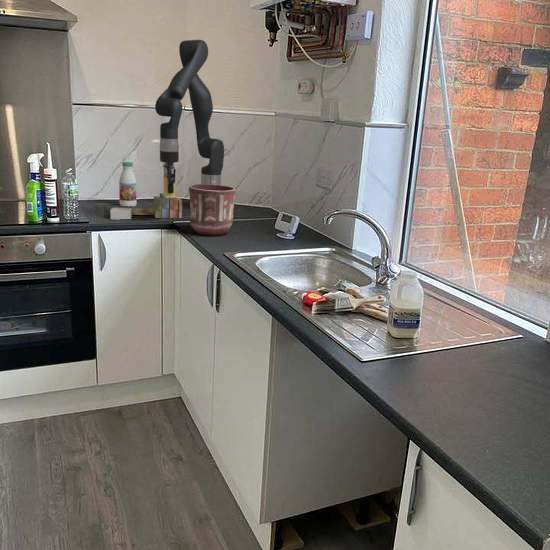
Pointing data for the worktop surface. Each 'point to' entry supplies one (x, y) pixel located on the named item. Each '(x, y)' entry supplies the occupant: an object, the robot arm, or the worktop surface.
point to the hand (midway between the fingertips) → (169, 191)
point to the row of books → (163, 208)
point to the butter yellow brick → (165, 188)
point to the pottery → (211, 208)
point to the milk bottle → (127, 186)
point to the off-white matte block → (121, 213)
